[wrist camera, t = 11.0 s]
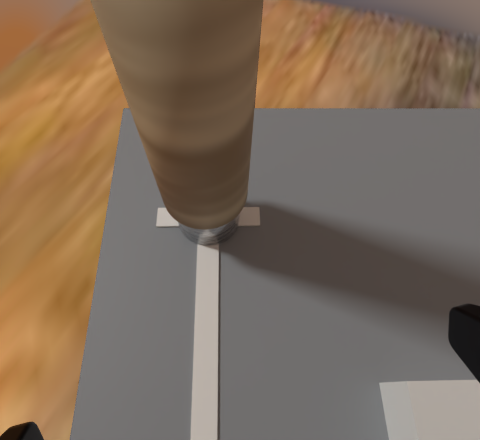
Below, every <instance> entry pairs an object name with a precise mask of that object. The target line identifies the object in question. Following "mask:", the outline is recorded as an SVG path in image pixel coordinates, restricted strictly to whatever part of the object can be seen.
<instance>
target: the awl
mask: <svg viewBox="0 0 480 440" xmlns="http://www.w3.org/2000/svg"><path fill="white" fill-rule="evenodd" d="M91 3H92V5H93V8H94V11H95V14H96V16H97V19H98V22H99V25H100V28H101V30H102V33H103V36H104V39H105V41H106V44H107V47H108V50H109V53H110V55H111V58H112V61H113V64H114V66H115V69H116V72H117V75H118V78H119V80H120V83H121V86H122V89H123V91H124V94H125V97H126V100H127V103H128V105H129V108H130V111H131V114H132V116H133V119H134V122H135V125H136V127H137V130H138V133H139V136H140V139H141V141H142V144H143V147H144V150H145V152H146V155H147V158H148V161H149V164H150V166H151V169H152V172H153V175H154V177H155V180H156V183H157V186H158V189H159V191H160V194H161V197H162V200H163V202H164V205H165V207H166V209H167V211H168V213H169V214H170V215H171V216H172V217H173V218H174V219H175V220H176V221H177V222H178V225H179V228H180V230H181V232H182V233H183V235H184V236H185V237H186V238H187V239H189V240H190V241H192V242H194V243H196V244H199V245H205V246H210V245H216V244H220V243H222V242H224V241H226V240H227V239H229V238H230V237H231V236H232V235H233V234H234V232H235V231H236V229H237V227H238V224H239V215H240V212H241V211H242V209H243V207H244V205H245V203H246V200H247V195H248V183H249V170H250V158H251V146H252V133H253V121H254V109H255V96H256V84H257V71H258V59H259V47H260V34H261V22H262V10H263V0H91Z"/></svg>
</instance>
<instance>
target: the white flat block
mask: <svg viewBox="0 0 480 440" xmlns="http://www.w3.org/2000/svg"><path fill="white" fill-rule="evenodd" d="M379 385H380V391H381V397H382V402H383V408H384V414H385V420H386V425H387V431H388V437H389V440H480V383H479V382H478V381H477V380H437V381H400V382H383V383H379Z"/></svg>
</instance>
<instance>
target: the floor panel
mask: <svg viewBox="0 0 480 440" xmlns="http://www.w3.org/2000/svg"><path fill="white" fill-rule="evenodd" d="M467 303H470V304H475V305H478V306H480V109H262V108H255V109H254V121H253V133H252V146H251V158H250V170H249V183H248V195H247V200H246V203H245V205H244V207H243V209H242V211H241V212H240V215H239V224H238V227H237V229H236V231H235V232H234V234H233V235H232V236H231V237H230V238H229V239H227V240H226V241H224V242H222V243H220V244H216V245H210V246H205V245H199V244H196V243H194V242H192V241H190V240H189V239H187V238H186V237H185V236H184V235H183V233H182V232H181V230H180V228H179V225H178V222H177V221H176V220H175V219H174V218H173V217H172V216H171V215H170V214H169V213H168V211H167V209H166V207H165V205H164V202H163V200H162V197H161V194H160V191H159V189H158V186H157V183H156V180H155V177H154V175H153V172H152V169H151V166H150V164H149V161H148V158H147V155H146V152H145V150H144V147H143V144H142V141H141V139H140V136H139V133H138V130H137V127H136V125H135V122H134V119H133V116H132V114H131V111H130V108H124V109H123V115H122V121H121V127H120V134H119V140H118V146H117V152H116V158H115V164H114V170H113V177H112V183H111V189H110V195H109V201H108V207H107V213H106V220H105V226H104V232H103V238H102V244H101V250H100V257H99V263H98V269H97V275H96V281H95V287H94V293H93V300H92V306H91V312H90V318H89V324H88V330H87V337H86V343H85V349H84V355H83V361H82V367H81V373H80V380H79V386H78V392H77V398H76V404H75V410H74V416H73V423H72V429H71V435H70V440H389V437H388V431H387V425H386V420H385V414H384V408H383V402H382V397H381V391H380V385H379V383H383V382H400V381H437V380H477V379H476V378H475V377H474V375H473V374H472V373H471V372H470V370H469V369H468V368H467V366H466V365H465V364H464V363H463V361H462V360H461V359H460V358H459V356H458V355H457V354H456V352H455V351H454V350H453V348H452V347H451V345H450V343H449V339H448V325H449V311H450V310H451V308H453V307H455V306H459V305H462V304H467Z"/></svg>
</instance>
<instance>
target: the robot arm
mask: <svg viewBox="0 0 480 440" xmlns="http://www.w3.org/2000/svg"><path fill="white" fill-rule="evenodd" d="M448 339H449V343H450V345H451V347H452V348H453V350H454V351H455V352H456V354H457V355H458V356H459V358H460V359H461V360H462V361H463V363H464V364H465V365H466V366H467V368H468V369H469V370H470V372H471V373H472V374H473V375H474V377H475V378H476V379H477V381H478V382H479V383H480V306H478V305H475V304H470V303H467V304H462V305H459V306H455V307H453V308H451V310H450V311H449V325H448ZM0 440H44V439H43V437H42V435H41V432H40V430H39V428H38V426H37V425H36V424H35V423H34V422H26V423H23V424H19V425H15V426H12V427H10V428H9V429H7V430H6V431H5V432H4V433H3V434H2V435H1V436H0Z"/></svg>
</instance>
